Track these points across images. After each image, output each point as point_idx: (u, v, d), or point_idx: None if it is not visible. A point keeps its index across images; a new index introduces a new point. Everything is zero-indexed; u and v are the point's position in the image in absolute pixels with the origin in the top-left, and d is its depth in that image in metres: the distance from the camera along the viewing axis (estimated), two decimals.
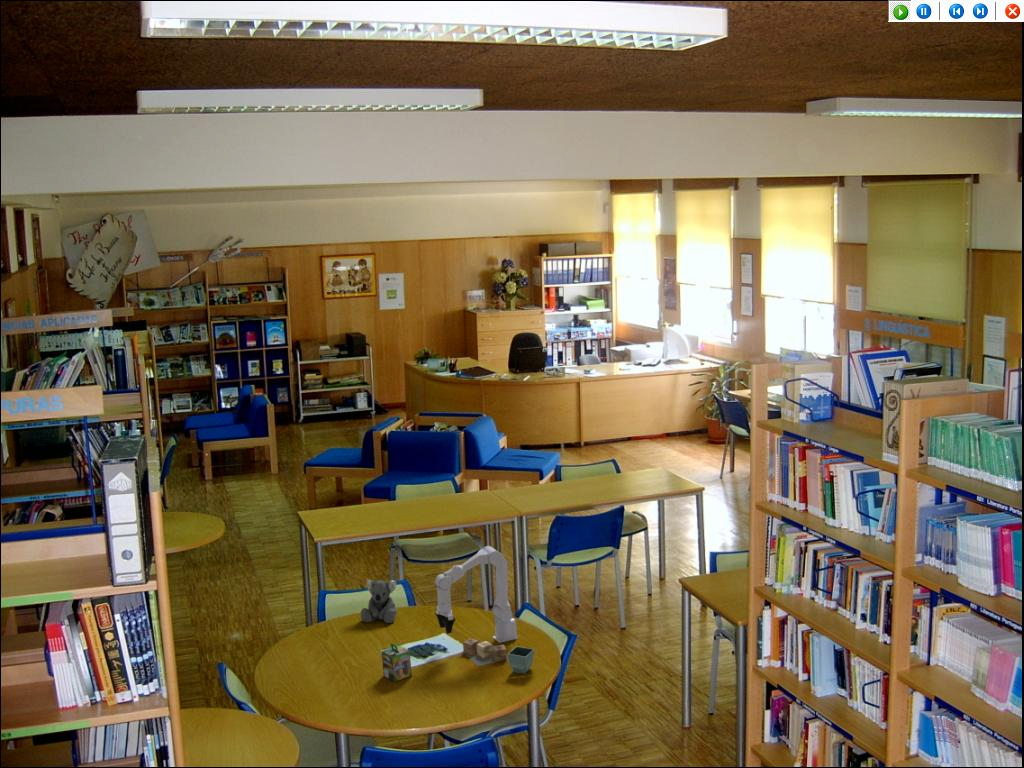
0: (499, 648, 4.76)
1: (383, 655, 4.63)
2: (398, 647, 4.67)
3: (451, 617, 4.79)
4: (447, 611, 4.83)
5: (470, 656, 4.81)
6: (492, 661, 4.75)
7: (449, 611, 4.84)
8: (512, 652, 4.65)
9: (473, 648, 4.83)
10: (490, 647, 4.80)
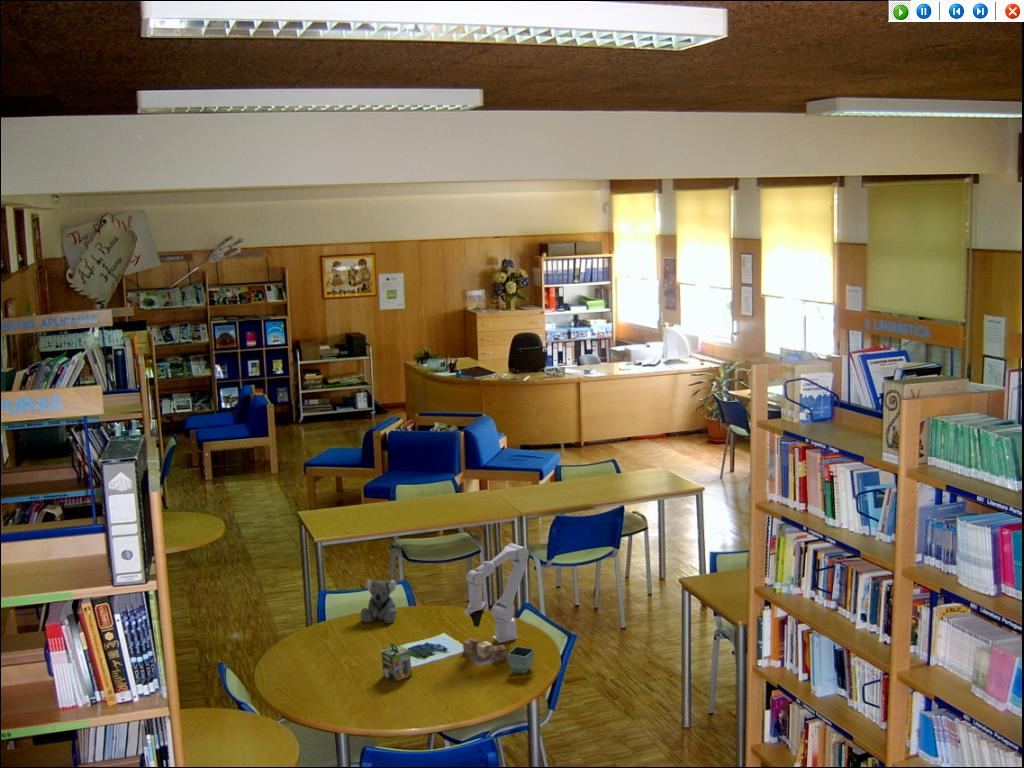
0: (499, 648, 4.76)
1: (383, 655, 4.63)
2: (398, 647, 4.67)
3: (466, 613, 4.82)
4: (472, 607, 4.86)
5: (470, 656, 4.81)
6: (492, 661, 4.75)
7: (474, 608, 4.85)
8: (512, 652, 4.65)
9: (473, 648, 4.83)
10: (490, 647, 4.80)
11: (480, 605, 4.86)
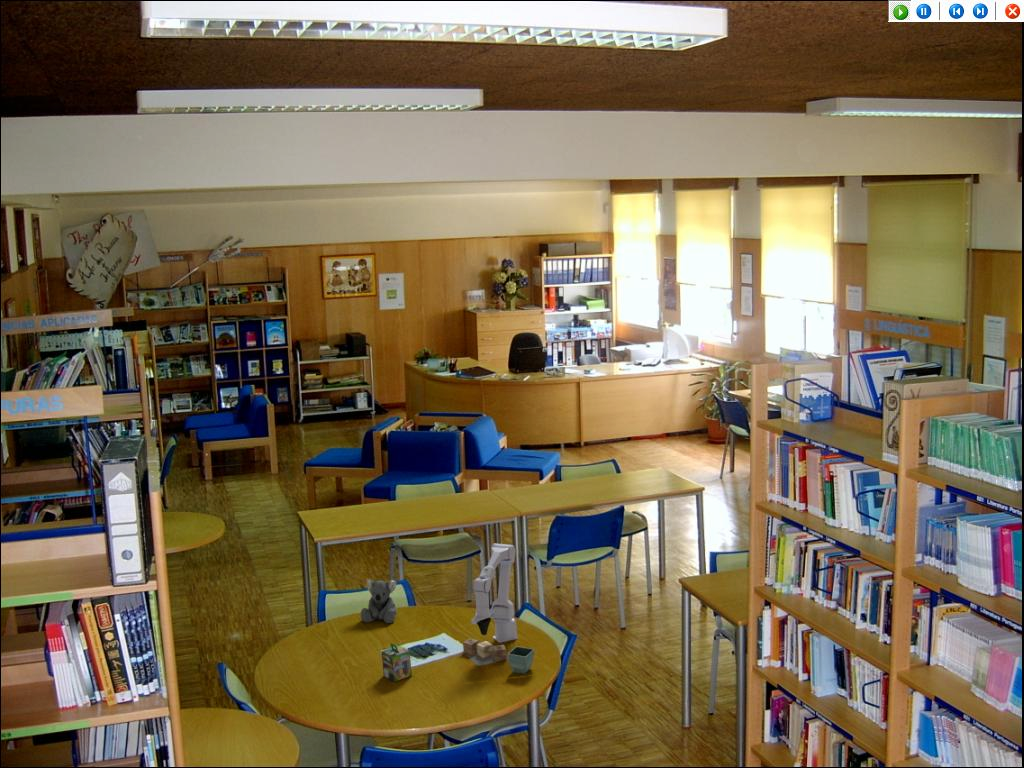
0: (499, 648, 4.76)
1: (383, 655, 4.63)
2: (398, 647, 4.67)
3: (473, 621, 4.73)
4: (479, 615, 4.77)
5: (470, 656, 4.81)
6: (492, 661, 4.75)
7: (481, 616, 4.76)
8: (512, 652, 4.65)
9: (473, 648, 4.83)
10: (490, 647, 4.80)
11: (487, 613, 4.77)
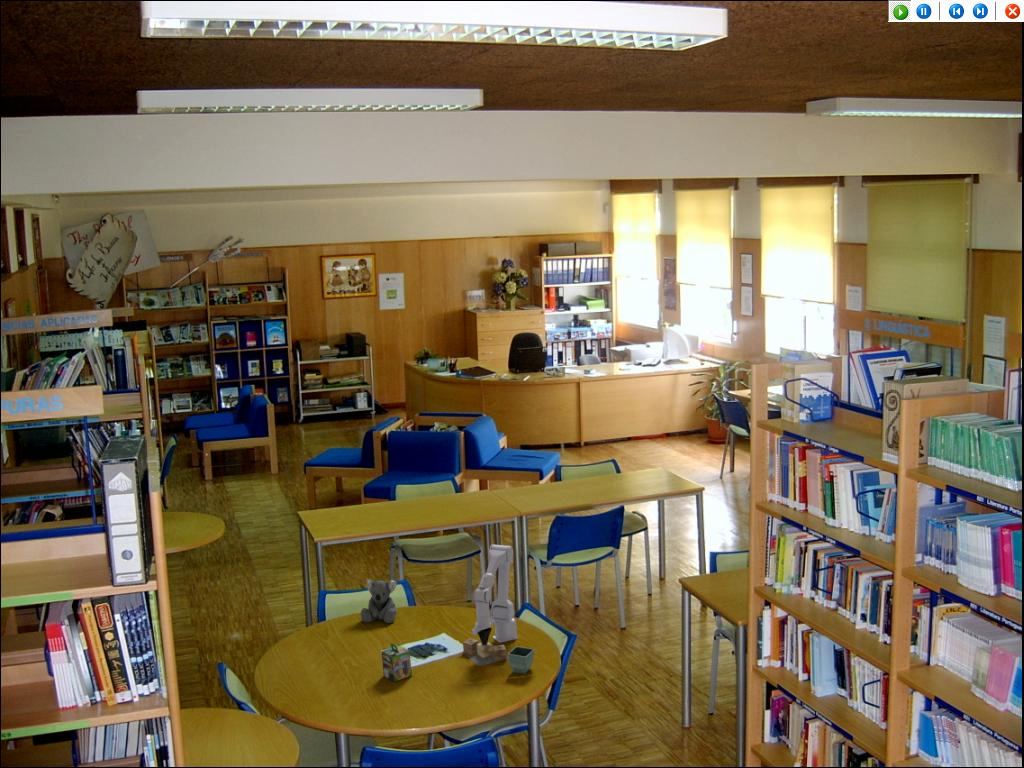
0: (499, 648, 4.76)
1: (383, 655, 4.63)
2: (398, 647, 4.67)
3: (474, 632, 4.74)
4: (480, 625, 4.78)
5: (470, 656, 4.81)
6: (492, 661, 4.75)
7: (482, 626, 4.77)
8: (512, 652, 4.65)
9: (473, 648, 4.83)
10: (490, 647, 4.80)
11: (488, 623, 4.78)
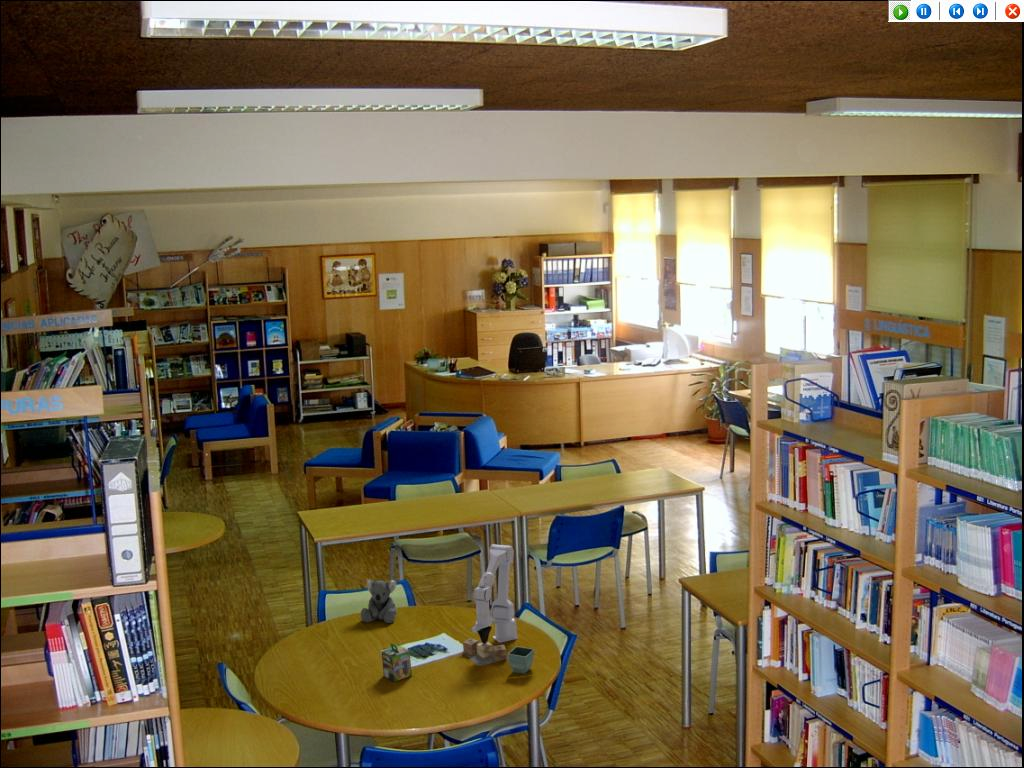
0: (499, 648, 4.76)
1: (383, 655, 4.63)
2: (398, 647, 4.67)
3: (474, 630, 4.74)
4: (480, 624, 4.77)
5: (470, 656, 4.81)
6: (492, 661, 4.75)
7: (482, 625, 4.77)
8: (512, 652, 4.65)
9: (473, 648, 4.83)
10: (490, 647, 4.80)
11: (488, 622, 4.78)
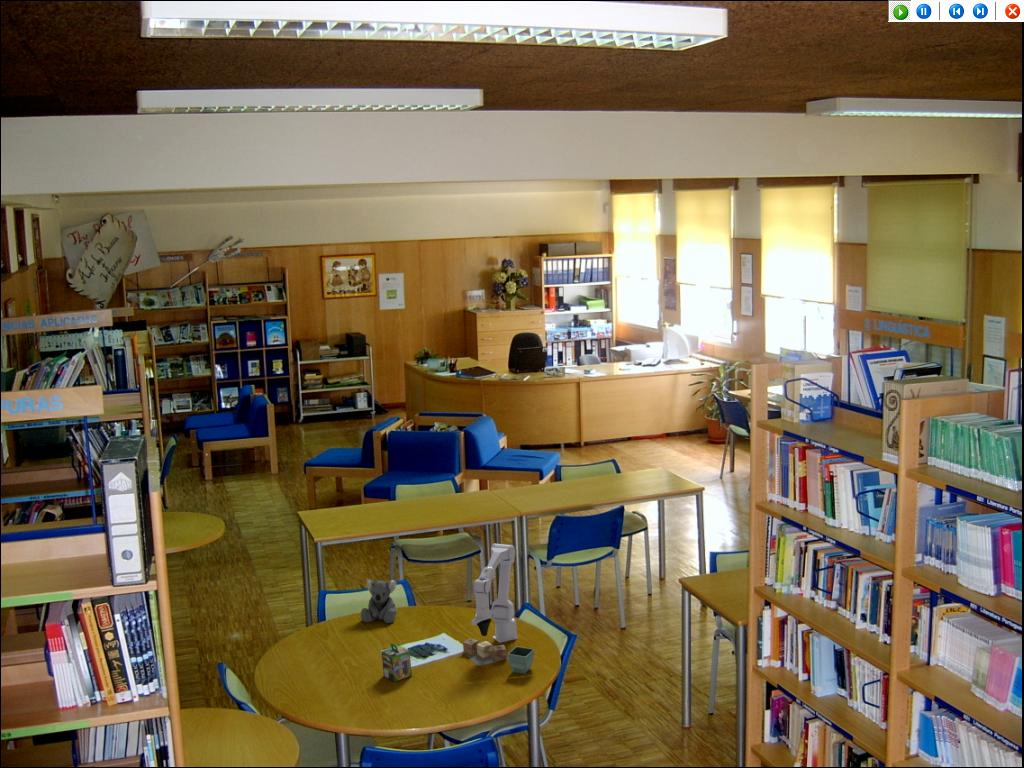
0: (499, 648, 4.76)
1: (383, 655, 4.63)
2: (398, 647, 4.67)
3: (473, 623, 4.74)
4: (479, 616, 4.77)
5: (470, 656, 4.81)
6: (492, 661, 4.75)
7: (481, 617, 4.77)
8: (512, 652, 4.65)
9: (473, 648, 4.83)
10: (490, 647, 4.80)
11: (487, 614, 4.77)
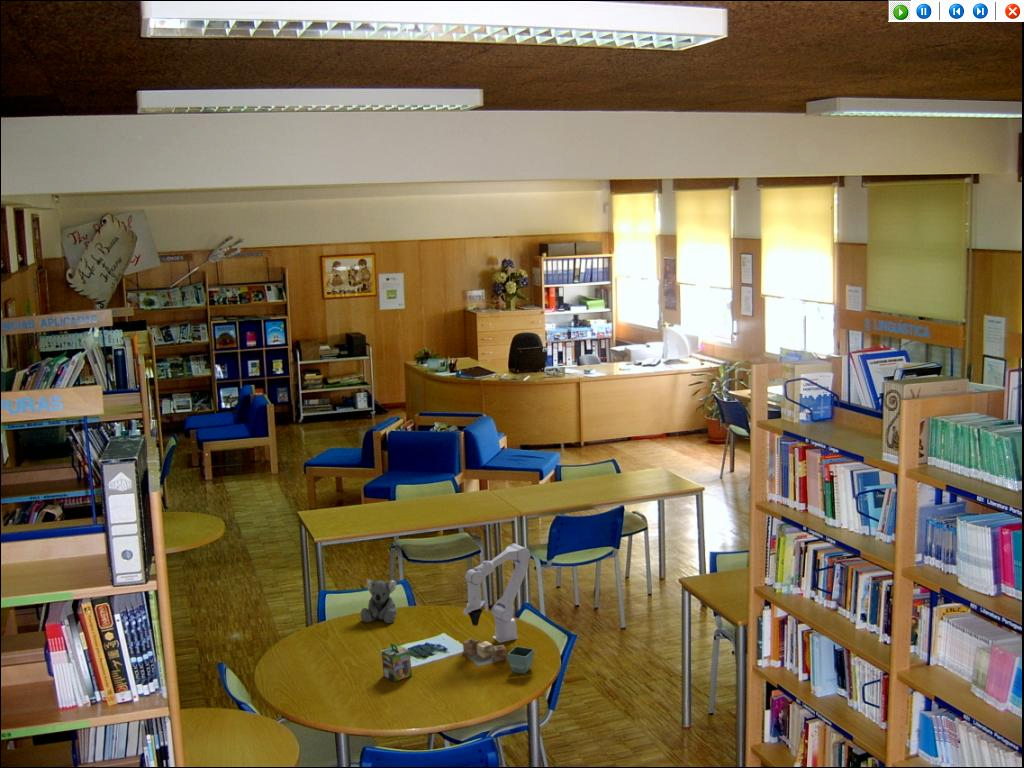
0: (499, 648, 4.76)
1: (383, 655, 4.63)
2: (398, 647, 4.67)
3: (465, 612, 4.83)
4: (471, 606, 4.87)
5: (470, 656, 4.81)
6: (492, 661, 4.75)
7: (473, 607, 4.86)
8: (512, 652, 4.65)
9: (473, 648, 4.83)
10: (490, 647, 4.80)
11: (479, 604, 4.87)
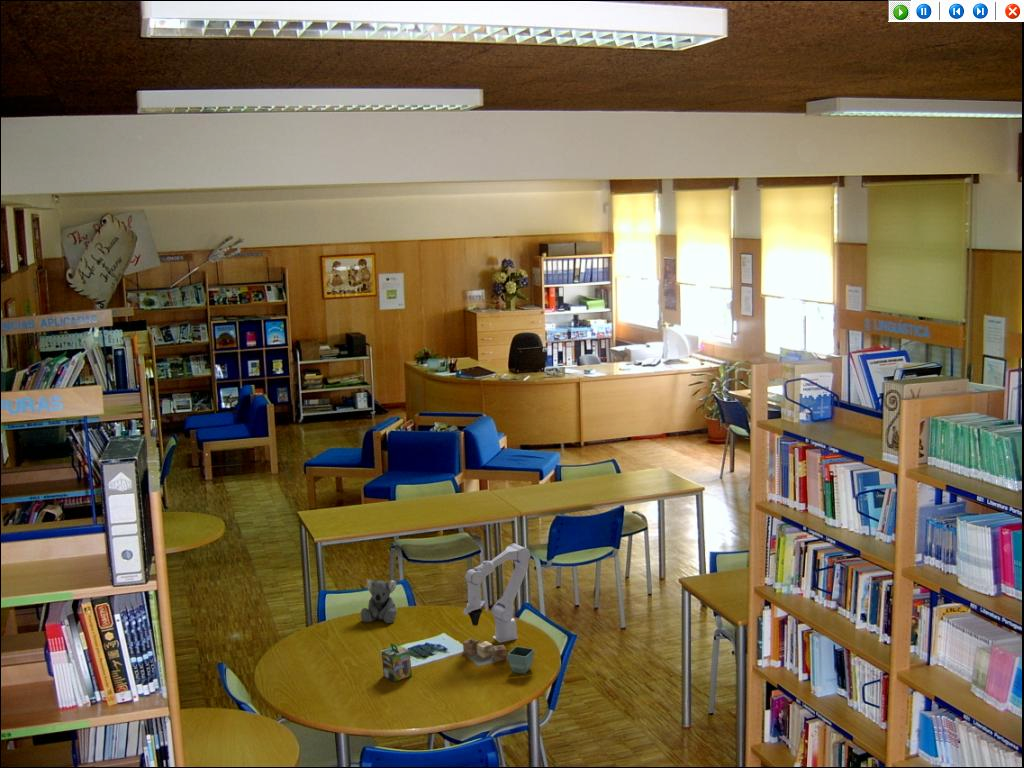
0: (499, 648, 4.76)
1: (383, 655, 4.63)
2: (398, 647, 4.67)
3: (465, 612, 4.83)
4: (471, 606, 4.87)
5: (470, 656, 4.81)
6: (492, 661, 4.75)
7: (473, 607, 4.86)
8: (512, 652, 4.65)
9: (473, 648, 4.83)
10: (490, 647, 4.80)
11: (479, 604, 4.87)
